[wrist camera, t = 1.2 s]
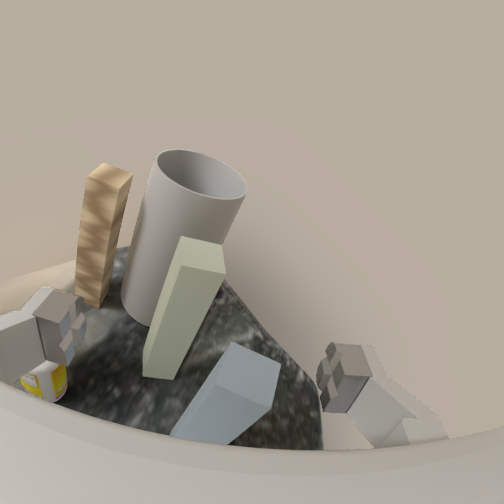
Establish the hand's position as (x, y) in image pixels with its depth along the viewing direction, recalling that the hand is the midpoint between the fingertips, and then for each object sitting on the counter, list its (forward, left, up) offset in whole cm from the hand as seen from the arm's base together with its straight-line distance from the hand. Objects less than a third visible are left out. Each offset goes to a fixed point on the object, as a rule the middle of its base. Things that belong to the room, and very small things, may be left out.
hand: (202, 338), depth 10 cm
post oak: (-14, +28, -34) cm, 46 cm away
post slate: (+6, +8, -34) cm, 35 cm away
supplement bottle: (-14, +10, -34) cm, 38 cm away
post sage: (0, +20, -34) cm, 39 cm away
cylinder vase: (-3, +32, -34) cm, 46 cm away
